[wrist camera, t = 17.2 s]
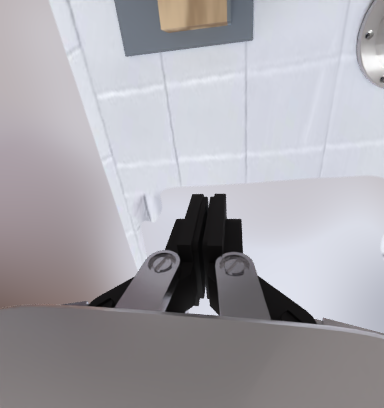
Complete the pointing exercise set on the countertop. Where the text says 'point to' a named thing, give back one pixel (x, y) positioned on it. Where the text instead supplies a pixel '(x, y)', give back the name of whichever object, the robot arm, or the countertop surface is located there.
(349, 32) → the countertop surface
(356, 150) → the countertop surface
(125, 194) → the countertop surface
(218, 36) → the mat
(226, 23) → the oak slab
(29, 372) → the robot arm
